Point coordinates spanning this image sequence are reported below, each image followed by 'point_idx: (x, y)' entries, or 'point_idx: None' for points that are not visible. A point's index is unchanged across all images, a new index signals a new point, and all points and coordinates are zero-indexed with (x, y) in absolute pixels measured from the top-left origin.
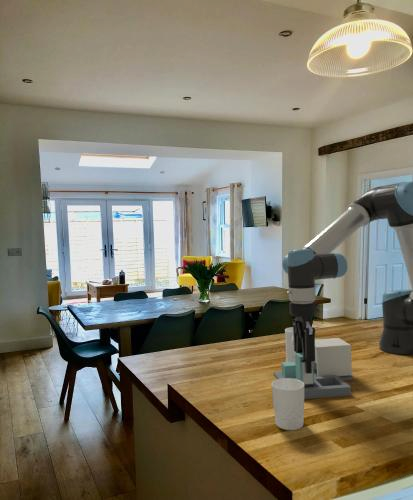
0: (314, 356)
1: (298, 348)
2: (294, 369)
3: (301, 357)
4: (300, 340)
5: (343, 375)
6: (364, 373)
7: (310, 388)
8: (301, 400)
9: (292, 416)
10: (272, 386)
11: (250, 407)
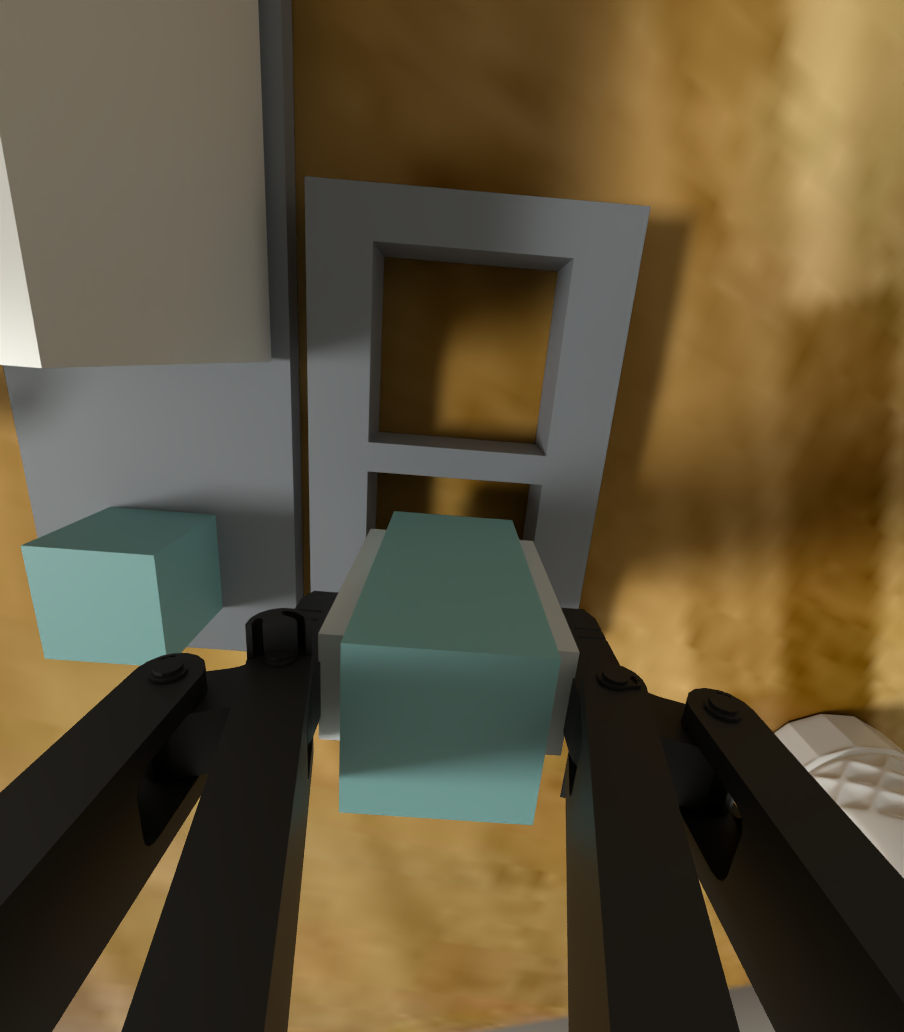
0: (786, 759)
1: (305, 826)
2: (178, 564)
3: (535, 799)
4: (284, 985)
5: (259, 59)
6: None
7: (553, 563)
8: None
9: None
10: None
11: (560, 864)
